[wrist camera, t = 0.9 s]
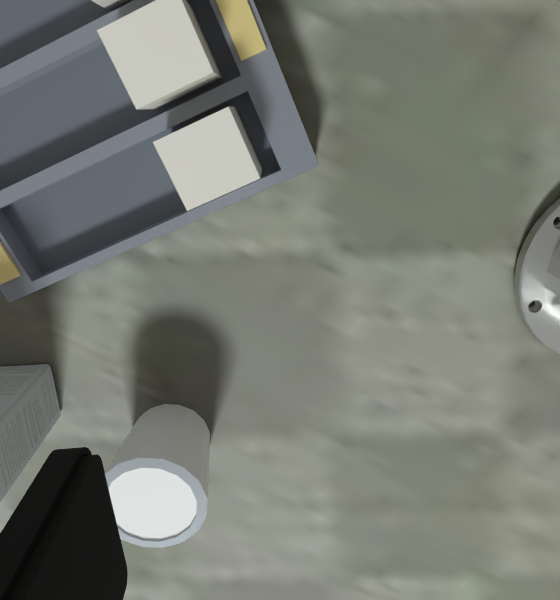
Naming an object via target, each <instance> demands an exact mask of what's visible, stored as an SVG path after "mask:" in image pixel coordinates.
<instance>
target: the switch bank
mask: <svg viewBox="0 0 560 600" xmlns="http://www.w3.org/2000/svg"><path fill="white" fill-rule="evenodd" d="M153 1H155V0H128V1H126V2H124V3H122V4H120V5H119V6H117V7H115V8H113V9H111V10H109V11H108V10H107V9H105V8H103V7H102V6H100V5H98V4H96V3H95V2H93V1H91V0H0V291H1V293H2V294H3V296H4V297H5V299H6V300H7V302H8V303H11V302H13V301H15V300H17V299H20V298H22V297H24V296H26V295H29V294H31V293H33V292H35V291H38V290H40V289H42V288H44V287H47V286H49V285H51V284H53V283H56V282H58V281H60V280H62V279H65V278H67V277H69V276H71V275H74V274H76V273H78V272H80V271H83V270H85V269H87V268H89V267H92V266H94V265H96V264H98V263H101V262H103V261H105V260H107V259H110V258H112V257H114V256H116V255H119V254H121V253H123V252H125V251H128V250H130V249H132V248H134V247H137V246H139V245H141V244H143V243H146V242H148V241H150V240H152V239H155V238H157V237H159V236H161V235H164V234H166V233H168V232H170V231H173V230H175V229H177V228H179V227H182V226H184V225H186V224H188V223H191V222H193V221H195V220H197V219H200V218H202V217H204V216H206V215H209V214H211V213H213V212H215V211H218V210H220V209H222V208H224V207H227V206H229V205H231V204H233V203H236V202H238V201H240V200H242V199H245V198H247V197H249V196H251V195H254V194H256V193H258V192H260V191H263V190H265V189H267V188H269V187H272V186H274V185H276V184H278V183H281V182H283V181H285V180H287V179H290V178H292V177H294V176H296V175H299V174H301V173H303V172H305V171H308V170H310V169H312V168H314V167H317V166H319V164H318V161H317V159H316V156H315V154H314V151H313V149H312V146H311V144H310V141H309V139H308V136H307V134H306V131H305V129H304V126H303V124H302V121H301V119H300V116H299V113H298V111H297V108H296V106H295V103H294V101H293V98H292V96H291V93H290V91H289V88H288V86H287V83H286V81H285V78H284V76H283V73H282V71H281V68H280V66H279V63H278V61H277V58H276V56H275V53H274V51H273V48H272V46H271V43H270V41H269V38H268V36H267V33H266V31H265V28H264V26H263V23H262V21H261V18H260V16H259V13H258V11H257V8H256V6H255V3H254V1H253V0H186V1H187V2H188V4H189V5H190V6H191V7H192V9H193V11H194V14H195V16H196V18H197V20H198V23H199V25H200V27H201V30H202V32H203V34H204V36H205V39H206V41H207V43H208V46H209V48H210V50H211V52H212V55H213V57H214V59H215V62H216V64H217V66H218V68H219V71H220V73H221V75H222V78H220V79H218V80H216V81H214V82H212V83H210V84H208V85H206V86H204V87H202V88H199V89H197V90H195V91H193V92H191V93H189V94H187V95H185V96H183V97H181V98H179V99H177V100H174V101H172V102H170V103H168V104H166V105H164V106H162V107H160V108H158V109H136V108H135V106H134V104H133V102H132V100H131V98H130V96H129V94H128V92H127V90H126V88H125V86H124V84H123V82H122V80H121V78H120V76H119V74H118V72H117V70H116V68H115V66H114V64H113V62H112V60H111V58H110V56H109V54H108V52H107V50H106V48H105V46H104V44H103V42H102V40H101V38H100V36H99V34H98V32H97V30H98V29H100V28H102V27H104V26H106V25H108V24H110V23H112V22H114V21H116V20H118V19H120V18H122V17H124V16H126V15H128V14H130V13H132V12H134V11H136V10H138V9H140V8H142V7H144V6H146V5H148V4H149V3H151V2H153ZM229 106H231V107H236V110H237V112H238V114H239V117H240V119H241V121H242V123H243V126H244V128H245V130H246V133H247V135H248V137H249V139H250V142H251V144H252V146H253V149H254V151H255V153H256V155H257V158H258V160H259V162H260V165H261V167H262V172H261V177H260V179H258V180H256V181H253V182H251V183H249V184H247V185H245V186H242V187H240V188H238V189H236V190H233V191H231V192H229V193H227V194H224V195H222V196H220V197H218V198H216V199H213V200H211V201H209V202H207V203H204V204H202V205H200V206H198V207H195V208H193V209H191V210H189V211H187V210H186V208H185V206H184V204H183V202H182V200H181V198H180V196H179V194H178V192H177V190H176V188H175V186H174V184H173V182H172V180H171V178H170V176H169V174H168V172H167V170H166V168H165V166H164V164H163V162H162V160H161V158H160V156H159V154H158V152H157V150H156V148H155V146H154V144H153V142H154V141H156V140H158V139H161V138H163V137H165V136H167V135H169V134H171V133H173V132H175V131H178V130H180V129H182V128H184V127H186V126H188V125H190V124H192V123H195V122H197V121H199V120H201V119H203V118H205V117H207V116H209V115H212V114H214V113H216V112H218V111H220V110H222V109H224V108H226V107H229Z"/></svg>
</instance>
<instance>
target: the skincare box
mask: <svg viewBox="0 0 560 600" xmlns="http://www.w3.org/2000/svg"><path fill="white" fill-rule="evenodd" d="M60 415H61V414H60V407H59V402H58V397H57V392H56V388H55V383H54V379H53V375H52V370H51V367H50V365H49V364H40V365H22V366H2V367H0V502H1V500H2V499H3V497H4V496H5V494H6V493H7V492H8V490H9V489H10V487H11V486H12V484H13V483H14V482H15V480H16V479H17V477H18V476H19V474H20V473H21V471H22V470H23V468H24V467H25V466H26V464H27V463H28V461H29V460H30V458H31V457H32V456H33V454H34V453H35V451H36V450H37V448H38V447H39V446H40V444H41V443H42V441H43V440H44V438H45V437H46V435H47V434H48V433H49V431H50V430H51V428H52V427H53V425H54V424H55V422H56V421H57V420H58V418H59V417H60Z"/></svg>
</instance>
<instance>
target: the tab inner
mask: <svg viewBox="0 0 560 600" xmlns="http://www.w3.org/2000/svg"><path fill="white" fill-rule="evenodd" d="M153 144H154V146H155V148H156V150H157V152H158V154H159V156H160V158H161V160H162V162H163V164H164V166H165V168H166V170H167V172H168V174H169V176H170V178H171V180H172V182H173V184H174V186H175V188H176V190H177V192H178V194H179V196H180V198H181V200H182V202H183V204H184V206H185V208H186V210H187V211H189V210H191V209H193V208H195V207H198V206H200V205H202V204H204V203H207V202H209V201H211V200H213V199H216V198H218V197H220V196H222V195H224V194H227V193H229V192H231V191H233V190H236V189H238V188H240V187H242V186H245V185H247V184H249V183H251V182H253V181H256V180H258V179H260V177H261V172H262V167H261V165H260V162H259V160H258V158H257V155H256V153H255V151H254V149H253V146H252V144H251V142H250V139H249V137H248V135H247V133H246V130H245V128H244V126H243V123H242V121H241V119H240V117H239V114H238V112H237V110H236V107H231V106H229V107H226V108H224V109H222V110H220V111H218V112H216V113H214V114H212V115H209V116H207V117H205V118H203V119H201V120H199V121H197V122H195V123H192V124H190V125H188V126H186V127H184V128H182V129H180V130H178V131H175V132H173V133H171V134H169V135H167V136H165V137H163V138H161V139H158V140H156V141H154V142H153Z"/></svg>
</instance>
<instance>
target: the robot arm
mask: <svg viewBox="0 0 560 600" xmlns="http://www.w3.org/2000/svg"><path fill="white" fill-rule="evenodd" d="M556 217H557V220H556V221H555V222H554V220H555V218H556ZM553 222H554V223H553ZM514 294H515V299H516V303H517V307H518V311H519V313H520V315H521V317H522V319H523V321H524V323H525V325H526V326H527V327H528V328H529V330H530V331H531V332H532V333H533V334H534V336H535V337H537V338H538V339H539V340H540V341H541V342H542V343H544V344H545V345H546V346H547V347H549V348H550V349H552V350H554V351H555V352H557V353H559V354H560V198H559V199H558V200H557V201H555V202H554V203H553V204H552V205H551V206H550V207H549V208H547V210H546V211H545V212H544V213H543V214H542V216H541V217H540V218H539V219H538V220H537V222H536V223H535V224H534V226H533V227H532V229H531V231H530V232H529V234H528V236H527V237H526V239H525V241H524V243H523V246H522V248H521V251H520V254H519V256H518V259H517V264H516V269H515V275H514ZM530 303H531V304H530ZM126 585H127V565H126V561H125V557H124V552H123V548H122V544H121V540H120V535H119V531H118V527H117V523H116V519H115V514H114V510H113V506H112V502H111V498H110V493H109V489H108V485H107V481H106V476H105V472H104V468H103V464H102V460H101V458H100V456H99V455H92V454H91V452H90V450H89V449H88V448H86V447H82V448H70V449H57V450H54V451H52V452H51V454H50V455H49V456H48V458H47V460H46V461H45V463H44V464H43V466H42V468H41V469H40V471H39V472H38V474H37V476H36V477H35V479H34V481H33V482H32V484H31V485H30V487H29V489H28V490H27V492H26V493H25V495H24V497H23V498H22V500H21V501H20V503H19V505H18V506H17V508H16V509H15V511H14V513H13V514H12V516H11V517H10V519H9V521H8V522H7V524H6V525H5V527H4V529H3V530H2V532H1V533H0V600H123V597H124V593H125V590H126Z"/></svg>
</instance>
